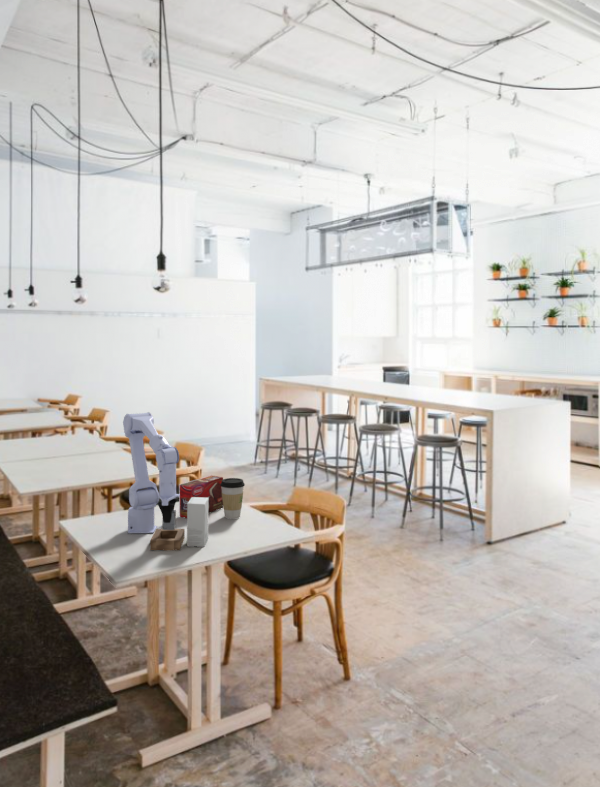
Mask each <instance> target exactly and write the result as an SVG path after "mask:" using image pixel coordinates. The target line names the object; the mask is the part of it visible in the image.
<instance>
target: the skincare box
mask: <svg viewBox="0 0 600 787" xmlns="http://www.w3.org/2000/svg"><path fill="white" fill-rule="evenodd" d="M208 500H209V498H206V497H192V498H191V499H190V500H189V502H188V503H187V518H186V547H194V546H197V547H201V548H204V547H205V546H206V544H207V542H208V540H209V513H208Z"/></svg>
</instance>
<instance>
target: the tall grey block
mask: <svg viewBox="0 0 600 787" xmlns="http://www.w3.org/2000/svg"><path fill="white" fill-rule="evenodd" d="M176 512H177V511H176V509H174V510H172V516H171V521H170V523H164V521H163V520H162V522H161V523H162V528H161V529H162V530H174V529H176V523H177V520H176V517H177V516H176V514H177V513H176Z"/></svg>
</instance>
